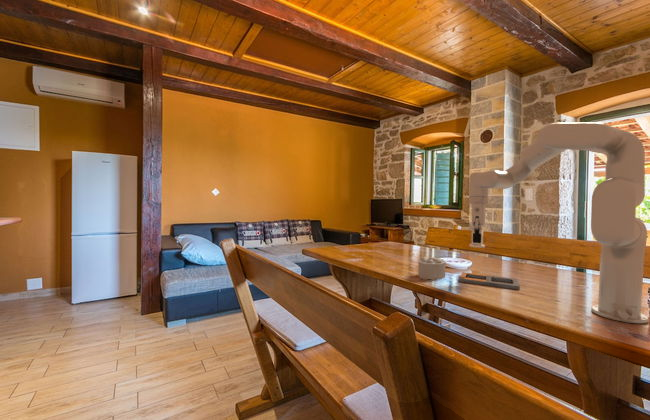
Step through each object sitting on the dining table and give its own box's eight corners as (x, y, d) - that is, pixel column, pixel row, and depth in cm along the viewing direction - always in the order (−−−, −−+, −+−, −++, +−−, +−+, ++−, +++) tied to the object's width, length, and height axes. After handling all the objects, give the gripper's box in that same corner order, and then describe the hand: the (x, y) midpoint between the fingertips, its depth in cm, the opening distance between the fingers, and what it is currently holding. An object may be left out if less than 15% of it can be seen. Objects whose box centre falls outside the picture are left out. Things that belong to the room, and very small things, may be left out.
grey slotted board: (519, 290, 119) (519, 285, 119) (459, 281, 130) (459, 278, 130) (517, 282, 130) (517, 278, 130) (462, 275, 141) (462, 271, 141)
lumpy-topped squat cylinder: (448, 276, 139) (448, 258, 138) (433, 281, 130) (433, 261, 130) (427, 272, 147) (428, 255, 146) (412, 276, 138) (413, 258, 138)
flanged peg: (484, 248, 128) (484, 229, 128) (468, 246, 131) (469, 228, 131) (484, 246, 133) (485, 228, 133) (470, 245, 136) (470, 227, 136)
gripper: (487, 200, 122) (486, 245, 123) (488, 200, 137) (487, 240, 137) (467, 200, 126) (466, 243, 126) (470, 200, 140) (469, 239, 141)
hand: (477, 241), depth 132 cm, fingers closed on flanged peg, 4 cm apart
